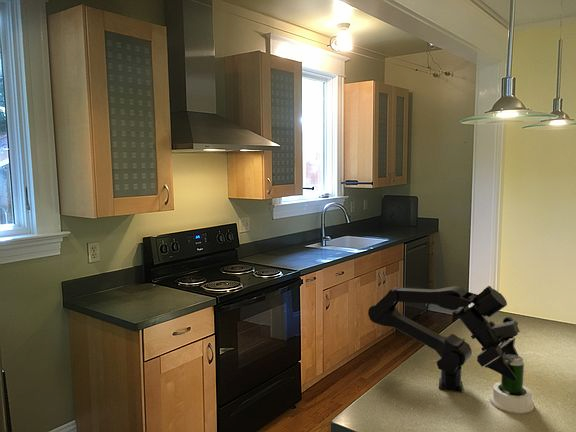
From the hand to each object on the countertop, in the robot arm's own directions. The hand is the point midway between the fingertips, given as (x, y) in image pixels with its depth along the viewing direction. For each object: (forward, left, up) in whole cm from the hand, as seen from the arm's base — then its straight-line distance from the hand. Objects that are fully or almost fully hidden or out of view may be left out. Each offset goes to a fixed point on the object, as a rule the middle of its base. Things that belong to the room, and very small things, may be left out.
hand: (518, 373), depth 129 cm
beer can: (0, -1, -8) cm, 8 cm away
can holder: (0, -1, -9) cm, 9 cm away
